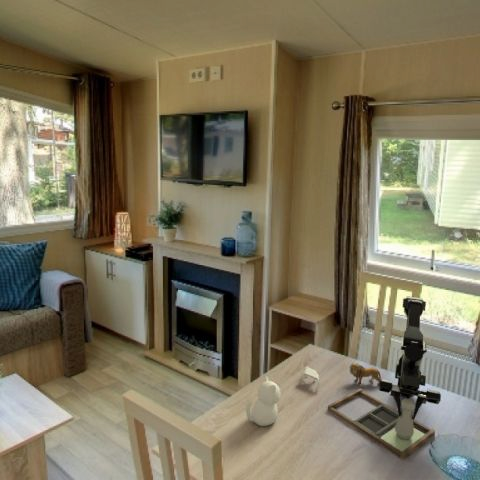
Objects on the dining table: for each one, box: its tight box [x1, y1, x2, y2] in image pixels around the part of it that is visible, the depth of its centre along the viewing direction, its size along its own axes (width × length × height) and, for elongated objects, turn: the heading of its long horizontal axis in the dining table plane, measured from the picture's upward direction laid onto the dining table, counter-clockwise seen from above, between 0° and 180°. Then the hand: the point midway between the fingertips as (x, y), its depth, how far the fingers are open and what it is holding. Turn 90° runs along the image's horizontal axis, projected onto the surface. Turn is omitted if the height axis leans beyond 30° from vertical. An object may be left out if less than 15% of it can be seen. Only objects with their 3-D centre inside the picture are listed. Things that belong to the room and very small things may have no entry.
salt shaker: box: [394, 398, 416, 440], centre depth 131 cm, size 6×6×13 cm
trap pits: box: [353, 404, 399, 438], centre depth 139 cm, size 17×9×2 cm, turn 127°
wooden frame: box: [327, 388, 436, 461], centre depth 139 cm, size 19×30×2 cm, turn 37°
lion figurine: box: [349, 362, 382, 387], centre depth 163 cm, size 15×5×9 cm, turn 98°
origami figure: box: [298, 366, 321, 392], centre depth 161 cm, size 12×8×5 cm
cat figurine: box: [245, 375, 282, 427], centre depth 137 cm, size 9×12×15 cm
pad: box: [379, 426, 426, 452], centre depth 132 cm, size 14×8×1 cm, turn 127°
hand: (406, 418), depth 129 cm, fingers open, 4 cm apart
